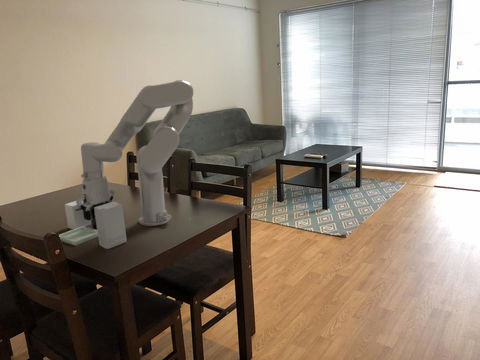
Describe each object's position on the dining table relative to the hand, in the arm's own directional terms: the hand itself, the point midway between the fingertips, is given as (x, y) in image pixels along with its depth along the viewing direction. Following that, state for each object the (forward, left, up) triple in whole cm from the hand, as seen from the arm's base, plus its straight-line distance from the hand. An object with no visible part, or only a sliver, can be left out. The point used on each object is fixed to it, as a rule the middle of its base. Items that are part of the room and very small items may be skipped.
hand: (97, 216), depth 162 cm
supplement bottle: (0, 0, -5) cm, 5 cm away
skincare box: (-18, +9, -5) cm, 21 cm away
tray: (-2, +11, -5) cm, 12 cm away
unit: (+9, +3, -5) cm, 10 cm away
